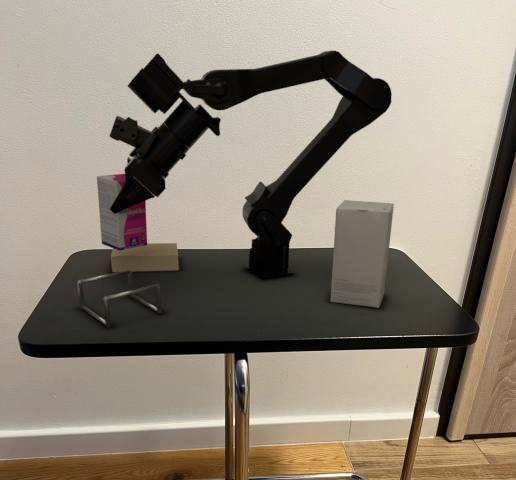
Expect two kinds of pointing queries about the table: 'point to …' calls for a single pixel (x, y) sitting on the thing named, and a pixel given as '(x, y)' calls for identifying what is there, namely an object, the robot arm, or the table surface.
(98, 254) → the table surface
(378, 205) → the cosmetic box
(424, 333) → the table surface
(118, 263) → the ledge
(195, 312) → the table surface
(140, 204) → the supplement box
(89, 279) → the rack
